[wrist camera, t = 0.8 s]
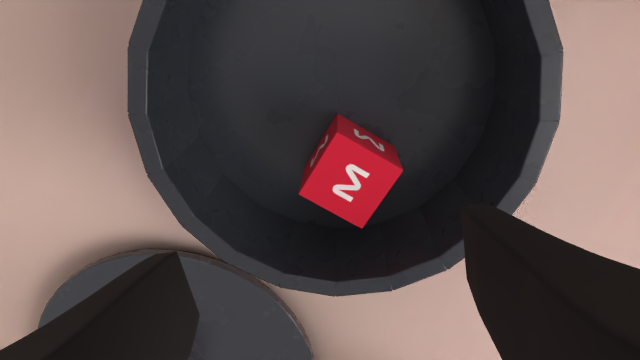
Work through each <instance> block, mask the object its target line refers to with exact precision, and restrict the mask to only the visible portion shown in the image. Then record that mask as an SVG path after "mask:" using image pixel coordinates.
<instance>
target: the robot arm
mask: <svg viewBox="0 0 640 360" xmlns="http://www.w3.org/2000/svg"><path fill="white" fill-rule="evenodd" d="M461 217H462V228H463V240H464V251H465V263H466V274H467V280H468V283H469V286H470V289H471V292H472V295H473V298H474V301H475V303H476V306H477V309H478V312H479V314H480V316H481V318H482V320H483V322H484V324H485V326H486V328H487V330H488V332H489V334H490V336H491V338H492V340H493V342H494V344H495V346H496V348H497V350H498V352H499V354H500V356H501V358H502V360H640V269H638V268H635V267H632V266H629V265H626V264H623V263H620V262H617V261H614V260H611V259H608V258H605V257H602V256H600V255H597V254H594V253H592V252H589V251H587V250H584V249H582V248H580V247H577V246H575V245H573V244H570V243H568V242H565V241H563V240H561V239H559V238H557V237H554V236H552V235H550V234H548V233H546V232H544V231H542V230H540V229H538V228H536V227H534V226H532V225H530V224H528V223H526V222H524V221H522V220H520V219H518V218H516V217H514V216H512V215H510V214H508V213H506V212H504V211H502V210H500V209H498V208H496V207H494V206H492V205H490V204H487V203H485V204H478V205H472V206H465V207H461ZM199 317H200V314H199V311H198V308H197V305H196V302H195V300H194V297H193V294H192V291H191V289H190V286H189V283H188V280H187V278H186V275H185V272H184V269H183V267H182V264H181V261H180V258H179V255H178V253H177V251H173V252H166V253H160V254H154V255H152V256H150V257H148V258H146V259H145V260H143V261H141V262H140V263H138V264H136V265H135V266H133V267H132V268H130V269H129V270H127V271H126V272H124V273H123V274H121V275H120V276H118V277H117V278H115V279H114V280H112V281H111V282H109V283H108V284H106V285H105V286H103V287H102V288H101V289H99V290H98V291H96V292H95V293H93V294H92V295H90V296H89V297H87V298H86V299H84V300H83V301H81V302H80V303H78V304H77V305H75V306H73V307H72V308H70V309H69V310H67V311H66V312H64V313H63V314H61V315H59V316H58V317H56V318H55V319H53V320H52V321H50V322H49V323H47V324H45V325H44V326H42V327H40V328H39V329H37V330H35V331H34V332H32V333H30V334H29V335H27V336H25V337H23V338H22V339H20V340H18V341H16V342H14V343H13V344H11V345H9V346H7V347H5V348H4V349H2V350H0V360H188V358H189V355H190V353H191V350H192V346H193V343H194V339H195V335H196V331H197V326H198V322H199Z"/></svg>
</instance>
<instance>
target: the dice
mask: <svg viewBox="0 0 640 360" xmlns="http://www.w3.org/2000/svg"><path fill="white" fill-rule="evenodd" d="M402 172H403V168H402V166H401V163H400V160H399V158H398V155H397V152H396V149H395V147H394V146H392V145H391V144H389V143H387V142H386V141H384V140H382V139H381V138H379V137H377V136H375V135H374V134H372V133H370V132H369V131H367V130H365V129H363V128H362V127H360V126H358V125H357V124H355V123H353V122H352V121H350V120H348V119H346V118H345V117H343V116H341V115H340V114H337V115H336V116H335V118H334V120H333V121H332V123H331V125H330V126H329V128H328V130H327V131H326V133H325V134H324V136H323V138H322V139H321V141H320V143H319V144H318V146H317V148H316V149H315V151H314V152H313V154H312V156H311V157H310V159H309V161H308V162H307V164H306V166H305V167H304V171H303V175H302V180H301V185H300V189H299V195H301V196H303V197H305V198H306V199H308V200H310V201H312V202H314V203H316V204H317V205H319V206H321V207H323V208H325V209H327V210H328V211H330V212H332V213H334V214H336V215H338V216H339V217H341V218H343V219H345V220H347V221H349V222H350V223H352V224H354V225H356V226H358V227H360V228H363V227H364V225H365V224H366V222H367V221H368V220H369V218H370V217H371V215H372V214H373V213H374V211H375V210H376V208H377V207H378V205H379V204H380V203H381V201H382V200H383V198H384V197H385V196H386V194H387V193H388V191H389V190H390V189H391V187H392V186H393V184H394V183H395V181H396V180H397V179H398V177H399V176H400V174H401V173H402Z"/></svg>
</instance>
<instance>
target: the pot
mask: <svg viewBox="0 0 640 360" xmlns="http://www.w3.org/2000/svg"><path fill="white" fill-rule="evenodd" d="M129 45H130V46H128V113H129V114H128V116H129V119H130V122H131V126H132V129H133V132H134V135H135V138H136V141H137V145H138V148H139V151H140V154H141V157H142V161H143V164H144V167H145V170H146V173H147V174H148V175H147V176H148V178H149V179H150V180H151V182H152V183H153V185H154V186H155V188H156V189H157V191H158V192H159V194H160V195H161V197H162V198H163V200H164V201H165V203H166V204H167V206H168V207H169V208H170V210H171V211H172V213H173V214H174V216H175V217H176V219H177V220H178V222H179V223H180V224H181V225H182V227H183V228H185V229H186V230H187V231H188V232H189V233H191V234H192V235H193V236H194V237H195V238H197V239H198V240H199V241H200V242H201V243H203V244H204V245H205V246H206V247H207V248H209V249H210V250H211V251H212V252H213V253H215V254H216V255H217V256H218V257H219V258H221V259H222V260H223V261H224V262H226V263H228V264H229V265H232V266H234V267H236V268H238V269H241V270H243V271H245V272H247V273H249V274H252V275H254V276H256V277H258V278H260V279H263V280H265V281H267V282H269V283H271V284H274V285H276V286H279V287H280V288H286V289H292V290H298V291H304V292H310V293H316V294H322V295H328V296H346V295H356V294H366V293H376V292H386V291H392V290H396V289H398V288H401V287H404V286H406V285H409V284H412V283H414V282H417V281H419V280H422V279H425V278H427V277H430V276H433V275H435V274H438V273H441V272H443V271H446V270H447V269H450V268H451V267H453V266H454V265H455V264H457V263H458V262H459V261H461V260H462V259H464V258H465V251H464V240H463V228H462V217H461V207H465V206H472V205H478V204H485V203H487V204H490V205H492V206H494V207H496V208H498V209H500V210H502V211H504V212H506V213H508V214H510V215H512V214H513V213H514V212H515V210H516V209H517V208H518V207H519V205H520V204H521V203H522V201H523V200H524V199H525V197H526V196H527V195H528V194H529V192H530V191H531V190H532V188H533V187H534V186H535V183H536V182H537V180H538V177H539V175H540V172H541V169H542V167H543V164H544V161H545V159H546V156H547V154H548V151H549V148H550V146H551V143H552V140H553V138H554V135H555V132H556V130H557V127H558V125H559V120H560V109H561V88H562V67H563V51H562V50H563V47H562V44H561V41H560V37H559V34H558V30H557V27H556V24H555V20H554V17H553V14H552V10H551V7H550V3H549V0H143V1H142V4H141V7H140V10H139V13H138V16H137V19H136V22H135V25H134V28H133V31H132V34H131V37H130V40H129ZM337 114H340V115H341V116H343V117H345V118H346V119H348V120H350V121H352V122H353V123H355V124H357V125H358V126H360V127H362V128H363V129H365V130H367V131H369V132H370V133H372V134H374V135H375V136H377V137H379V138H381V139H382V140H384V141H386V142H387V143H389V144H391V145H392V146H394V147H395V149H396V152H397V155H398V158H399V160H400V163H401V166H402V168H403V172H402V173H401V174H400V176H399V177H398V179H397V180H396V181H395V183H394V184H393V186H392V187H391V189H390V190H389V191H388V193H387V194H386V196H385V197H384V198H383V200H382V201H381V203H380V204H379V205H378V207H377V208H376V210H375V211H374V213H373V214H372V215H371V217H370V218H369V220H368V221H367V222H366V224H365V225H364V227H363V228H360V227H358V226H356V225H354V224H352V223H350V222H349V221H347V220H345V219H343V218H341V217H339V216H338V215H336V214H334V213H332V212H330V211H328V210H327V209H325V208H323V207H321V206H319V205H317V204H316V203H314V202H312V201H310V200H308V199H306V198H305V197H303V196H301V195H299V189H300V185H301V180H302V175H303V171H304V167H305V166H306V164H307V162H308V161H309V159H310V157H311V156H312V154H313V152H314V151H315V149H316V148H317V146H318V144H319V143H320V141H321V139H322V138H323V136H324V134H325V133H326V131H327V130H328V128H329V126H330V125H331V123H332V121H333V120H334V118H335V116H336V115H337Z"/></svg>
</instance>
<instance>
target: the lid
mask: <svg viewBox="0 0 640 360" xmlns="http://www.w3.org/2000/svg"><path fill="white" fill-rule="evenodd" d="M173 251H177V253H178V255H179V258H180V261H181V264H182V267H183V269H184V272H185V275H186V278H187V280H188V283H189V286H190V289H191V291H192V294H193V297H194V300H195V302H196V305H197V308H198V311H199V314H200V317H199V322H198V326H197V331H196V335H195V339H194V343H193V346H192V350H191V353H190V355H189V358H188V360H314V356H313V352H312V349H311V345H310V342H309V340H308V338H307V336H306V333H305V331H304V329H303V327H302V326H301V324H300V323H299V321H298V319H297V318H296V316H295V315H294V313H293V312H292V311H291V310H290V309H289V308H288V306H287V305H286V304H285V303H284V302H283V301H282V300H281V299H280V298H279V297H278V296H277V295H276V294H275V293H274V292H272V291H271V290H270V289H269V288H268V287H266V286H265V285H264V284H262V283H261V282H259V281H258V280H257V279H255V278H254V277H252V276H250V275H248V274H247V273H245V272H243V271H241V270H239V269H238V268H236V267H233V266H231V265H229V264H226V263H224V262H221V261H219V260H216V259H213V258H209V257H206V256H203V255H199V254H195V253H189V252H183V251H178V250H162V249H152V250H136V251H131V252H125V253H119V254H116V255H113V256H110V257H106V258H103V259H101V260H98V261H96V262H94V263H92V264H90V265H88V266H86V267H84V268H83V269H81V270H80V271H78V272H77V273H76V274H74V275H73V276H71V277H70V278H69V279H68V280H67V281H66V282H65V283H64V284H63V285H62V286H61V287H60V288H59V289H58V290H57V291H56V292H55V294H54V295H53V296H52V298H51V299H50V300H49V302H48V303H47V305H46V307H45V309H44V311H43V313H42V316H41V319H40V322H39V326H38V329H39V328H40V327H42V326H44V325H45V324H47V323H49V322H50V321H52V320H53V319H55V318H56V317H58V316H59V315H61V314H63V313H64V312H66V311H67V310H69V309H70V308H72V307H73V306H75V305H77V304H78V303H80V302H81V301H83V300H84V299H86V298H87V297H89V296H90V295H92V294H93V293H95V292H96V291H98V290H99V289H101V288H102V287H103V286H105V285H106V284H108V283H109V282H111V281H112V280H114V279H115V278H117V277H118V276H120V275H121V274H123V273H124V272H126V271H127V270H129V269H130V268H132V267H133V266H135V265H136V264H138V263H140V262H141V261H143V260H145V259H146V258H148V257H150V256H152V255H154V254H160V253H166V252H173Z"/></svg>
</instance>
